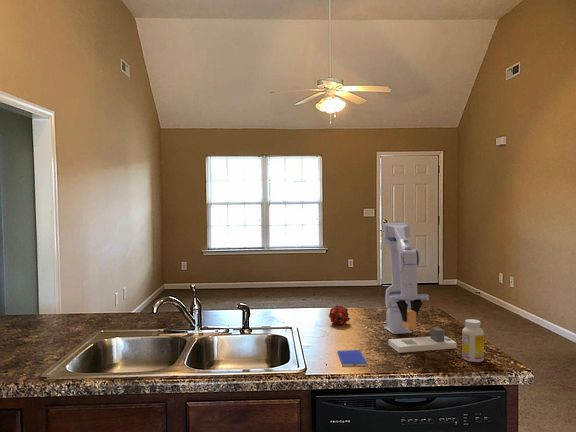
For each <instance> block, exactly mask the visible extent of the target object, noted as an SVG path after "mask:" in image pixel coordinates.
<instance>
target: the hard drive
mask: <svg viewBox="0 0 576 432" xmlns="http://www.w3.org/2000/svg"><path fill="white" fill-rule="evenodd" d="M336 354H337V356H338V359H339V362H340V365H341V366H342V367H363V366H365V367H366V366H368V362H367V361H366V359H365V357H364V354H363V352H362V351H361V350H360V349H357V350H356V349H354V350H352V349H349V350H347V349H346V350H337V351H336Z"/></svg>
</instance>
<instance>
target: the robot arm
mask: <svg viewBox="0 0 576 432" xmlns="http://www.w3.org/2000/svg"><path fill="white" fill-rule="evenodd" d="M410 229H411V227H410V224H409V223H408V222H407V221H406V222H385V223H384V224H383V241H384V244H385V245H388V249H389V253H390V254H389V256H390V271H391V272H390V273H391V276H390V277H391V285H390V286H389V287H387V288H386V290H385V298H384V301H385V307H386V309H387V310H386V313H385V316H386V318H385V319H386V320H385V322H386V325H385V326H383V328H384V329H385V330H386V331H388V332H390V334H391V333H392V334H393V335H399V334H400V335H401V334H412V331H411V329H407V328H405V327H404V326H403V321H404V322H407V309H411V310H413V311H415V312H416V319H417V317H418V314H419V312H420V309H421V308H422V306H423V301H429V300H430V295H429V294H427V293H418V266H419V265H420V254H419V250H418V249H416V248H414V246H413V243H412V241H411V240H410V239H409V237H410V234H411V230H410Z"/></svg>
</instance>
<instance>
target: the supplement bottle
mask: <svg viewBox="0 0 576 432" xmlns="http://www.w3.org/2000/svg"><path fill="white" fill-rule="evenodd" d="M464 321H465V322H464V324H465V327H464V328H462V331H461V333H462V334H461V335H462V336H461V343H462V345H461V346H462V347H461V349H462V351H461V353H462V354H461V355H462V356H461V357H462V359H464V360H465V361H467V362H469V363H470V362H471V363H472V362H473V363H482V362H483V361H484V360H485V333H484V332H485V331H484V330H483V329H482V328H481V326H482V325H481V321H480V320H478V319H473V318H471V319H469V318H467V319H465V320H464Z"/></svg>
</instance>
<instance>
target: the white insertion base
mask: <svg viewBox="0 0 576 432" xmlns="http://www.w3.org/2000/svg"><path fill="white" fill-rule="evenodd" d="M429 329H430V332H429V333H430V335H429V336H419V337H418V336H417V337H403V338H391V339H390V338H389V339H388V346H389V347H390V348H392V349H393V350H395V351H396V352H398V354H400V353H401V354H402V353H413V352H414V353H415V352H426V351H439V350H450V349H458V347H457V343H458V342H456V341H454V340H453V339H451V338H450V337H448V336H447V335H445V330H444V329H442V328H440V327H438V326H434V327H433V326H432V327H430V328H429Z"/></svg>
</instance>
